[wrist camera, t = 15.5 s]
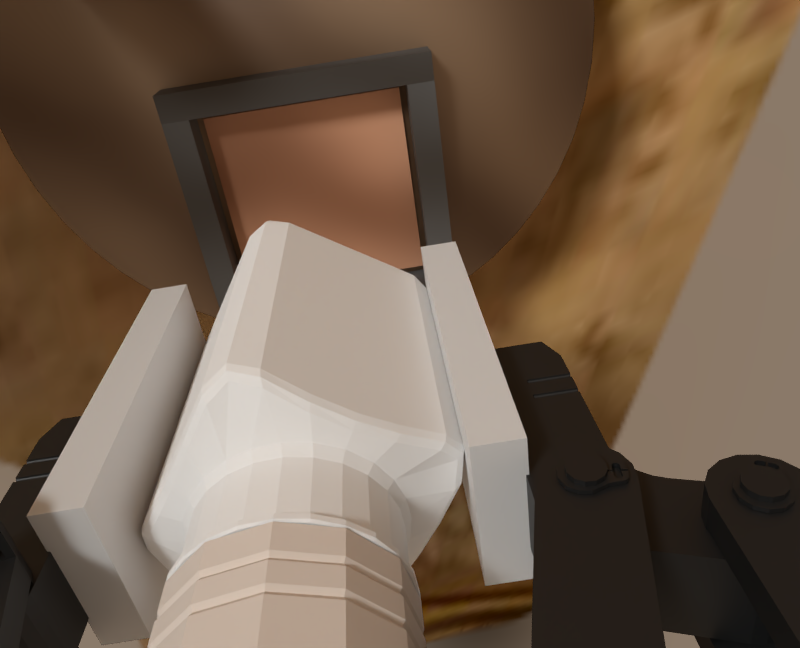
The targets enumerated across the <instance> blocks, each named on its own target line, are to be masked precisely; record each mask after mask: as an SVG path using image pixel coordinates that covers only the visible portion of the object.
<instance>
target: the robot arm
mask: <svg viewBox="0 0 800 648" xmlns="http://www.w3.org/2000/svg"><path fill="white" fill-rule="evenodd" d="M421 254H422V262H423V269H424V276H425V284H426V288H427V291H428V296H429V300H430V304H431V308H432V313H433V317H434V321H435V326H436V330H437V334H438V338H439V343H440V347H441V351H442V356H443V360H444V364H445V369H446V373H447V377H448V381H449V386H450V390H451V394H452V399H453V403H454V407H455V411H456V416H457V420H458V424H459V429H460V433H461V437H462V441H463V446H464V462H463V476H462V480H463V485H464V490H465V494H466V499H467V504H468V508H469V513H470V517H471V522H472V527H473V531H474V536H475V541H476V545H477V550H478V554H479V559H480V564H481V568H482V573H483V578H484V582H485V586H488V585H495V584H501V583H508V582H514V581H521V580H527V579H533V603H532V648H666V647H665V641H664V634H663V631H667V632H674V633H681V634H688V635H694V636H695V638H696V640H697V642H698V644H699V646H700V648H800V469H799V468H797V467H795V466H793V465H790V464H788V463H786V462H784V461H782V460H779V459H775V458H770V457H766V456H761V455H735V456H732V457H729V458H725V459H722V460H719V461H718V462H717V463H716V464H715V465H713V466H712V467H711V468H710V469H709V470H708V472H707V476H706V480H705V481H694V480H682V479H671V478H664V477H658V476H652V475H649V474H646V473H643V472H640V471H637V470H635V469H634V466H633V464H632V463H631V462H629V461H628V460H627V459H626V458H625V457H624V456H623V455H621V454H620V453H619V452H616V451H614V450H612V449H609V447H608V446H607V444H606V442H605V440H604V438H603V436H602V434H601V432H600V430H599V428H598V426H597V424H596V423H595V421H594V419H593V417H592V415H591V413H590V411H589V409H588V407H587V405H586V403H585V401H584V399H583V397H582V396H581V394H580V392H578V388H577V386H576V384H575V382H574V380H573V378H572V377H570V372H569V370H568V369H567V367H566V365H565V363H564V361H563V359H562V357H561V355H559V354H558V353H557V352H555V351H554V350H552V349H551V348H550V347H548V346H547V345H545V344H544V343H542V342H536V343H530V344H523V345H517V346H511V347H504V348H498V349H495V348H494V346H493V343H492V340H491V338H490V335H489V332H488V329H487V327H486V324H485V321H484V318H483V316H482V313H481V310H480V307H479V305H478V302H477V299H476V296H475V294H474V291H473V288H472V285H471V283H470V280H469V277H468V274H467V272H466V269H465V266H464V263H463V261H462V258H461V255H460V253H459V250H458V247H457V244H456V242H448V243H442V244H436V245H429V246H423V247H421ZM205 344H206V341H205V338H204V335H203V332H202V329H201V326H200V323H199V320H198V317H197V314H196V311H195V308H194V305H193V302H192V299H191V296H190V293H189V290H188V287H187V284H184V285H178V286H172V287H165V288H159V289H153V290H151V292H150V294H149V296H148V297H147V299H146V301H145V303H144V305H143V306H142V308H141V310H140V312H139V314H138V315H137V317H136V319H135V321H134V323H133V324H132V326H131V328H130V330H129V332H128V333H127V335H126V337H125V339H124V341H123V343H122V344H121V346H120V348H119V350H118V352H117V353H116V355H115V357H114V359H113V361H112V362H111V364H110V366H109V368H108V370H107V371H106V373H105V375H104V377H103V379H102V380H101V382H100V384H99V386H98V388H97V390H96V391H95V393H94V395H93V397H92V399H91V400H90V402H89V404H88V406H87V408H86V409H85V411H84V413H83V415H82V416H79V417H72V418H66V419H62V420H60V421H59V422H58V423H57V424H56V425H55V426H54V427H53V428H52V429H50V430H49V431H48V432H47V433H46V434H45V435H44V436H43V437H41V438H40V439H39V441H38V443H37V444H36V446H35V447H34V449H33V451H32V452H31V454H30V456H29V457H28V459H27V460H26V461H27V464H25V465H23V467H22V469H21V470H20V472H19V474H18V475H17V477H16V482H13V483H12V485H11V487H10V488H9V490H8V492H7V493H6V495H5V497H4V498H3V500H2V501H1V503H0V648H79V647H78V646H79V643H80V640H81V638H82V635H83V632H84V630H85V627H86V625H87V622H89V624H90V626H91V628H92V629H93V631H94V633H95V634H96V636H97V638H98V640H99V641H100V643H101V645H106V644H113V643H120V642H126V641H132V640H139V639H145V638H150V636H151V632H152V628H153V625H154V622H155V621H156V619H157V611H158V607H159V603H160V600H161V596H162V592H163V589H164V585H165V582H166V579H167V575H168V572H169V570H168V569H167V568H166V567H165V566H164V565H163V564H162V563H161V562H160V561H159V560H158V559H157V558H156V557H155V556H154V555H153V554H152V553H151V552H150V551H149V550H148V549H147V547H146V544H145V542H144V539H143V537H142V526H143V523H144V520H145V517H146V514H147V511H148V508H149V505H150V503H151V500H152V497H153V494H154V491H155V488H156V485H157V482H158V479H159V477H160V474H161V471H162V468H163V465H164V462H165V459H166V456H167V453H168V450H169V448H170V445H171V442H172V439H173V436H174V433H175V430H176V427H177V424H178V422H179V419H180V416H181V413H182V410H183V407H184V404H185V401H186V398H187V396H188V393H189V390H190V387H191V384H192V381H193V378H194V375H195V372H196V369H197V367H198V364H199V361H200V358H201V355H202V352H203V349H204V346H205Z"/></svg>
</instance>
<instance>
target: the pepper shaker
mask: <svg viewBox="0 0 800 648" xmlns="http://www.w3.org/2000/svg"><path fill="white" fill-rule="evenodd" d="M463 462H464V446H463V441H462V437H461V433H460V429H459V424H458V420H457V416H456V411H455V407H454V403H453V399H452V394H451V390H450V386H449V381H448V377H447V373H446V369H445V364H444V360H443V356H442V351H441V347H440V343H439V338H438V334H437V330H436V326H435V321H434V317H433V313H432V308H431V304H430V300H429V296H428V291H427V288H426V287H425V286H424V285H423V284H422V283H421V282H420V281H419V280H418V279H417V278H416V277H415V276H414V275H412V274H410V273H407V272H405V271H403V270H400V269H398V268H396V267H393V266H391V265H388V264H386V263H384V262H381V261H379V260H377V259H374V258H372V257H369V256H367V255H365V254H362V253H360V252H358V251H355V250H353V249H351V248H348V247H346V246H343V245H341V244H339V243H336V242H334V241H332V240H329V239H327V238H324V237H322V236H320V235H317V234H315V233H313V232H310V231H308V230H305V229H303V228H301V227H298V226H296V225H294V224H291V223H288V222H279V221H271V220H270V221H267V222H265V223H264V224H263V225H262V226H261V227H260V228H258V229H257V230H256V231H255V232H254V233H253V234H252V235H251V236H250V237H249V240H248V242H247V245H246V247H245V249H244V252H243V254H242V257H241V259H240V261H239V264H238V266H237V269H236V271H235V274H234V276H233V278H232V281H231V283H230V286H229V288H228V290H227V293H226V295H225V298H224V300H223V303H222V305H221V307H220V310H219V312H218V315H217V317H216V319H215V322H214V324H213V327H212V329H211V332H210V334H209V336H208V339H207V341H206V344H205V346H204V349H203V352H202V355H201V358H200V361H199V364H198V367H197V369H196V372H195V375H194V378H193V381H192V384H191V387H190V390H189V393H188V396H187V398H186V401H185V404H184V407H183V410H182V413H181V416H180V419H179V422H178V424H177V427H176V430H175V433H174V436H173V439H172V442H171V445H170V448H169V450H168V453H167V456H166V459H165V462H164V465H163V468H162V471H161V474H160V477H159V479H158V482H157V485H156V488H155V491H154V494H153V497H152V500H151V503H150V505H149V508H148V511H147V514H146V517H145V520H144V523H143V526H142V537H143V539H144V542H145V544H146V547H147V549H148V550H149V551H150V552H151V553H152V554H153V555H154V556H155V557H156V558H157V559H158V560H159V561H160V562H161V563H162V564H163V565H164V566H165V567H166V568H167V569H168V570H169V572H168V575H167V579H166V582H165V585H164V589H163V592H162V596H161V600H160V603H159V607H158V611H157V620H156V621H155V622H154V625H153V628H152V632H151V636H150V639H149V643H148V648H426V639H425V637H424V635H423V632H424V622H423V613H422V604H421V597H420V590H419V587H418V583H417V579H416V576H415V572H414V570H413V568H412V567H411V565H412V564H413V563H414V561H415V560H416V559H417V558H418V556H419V555H420V554H421V552H422V550H423V549H424V547H425V546H426V544H427V543H428V541H429V540H430V538H431V536H432V535H433V533H434V532H435V530H436V529H437V527H438V526H439V524H440V522H441V520H442V519H443V517H444V515H445V513H446V511H447V509H448V507H449V505H450V504H451V502H452V500H453V498H454V496H455V494H456V492H457V490H458V489H459V487H460V485H461V482H462V476H463Z"/></svg>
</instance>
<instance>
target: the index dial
mask: <svg viewBox="0 0 800 648" xmlns="http://www.w3.org/2000/svg"><path fill="white" fill-rule="evenodd" d="M594 20H595V18H594V0H0V128H1V130H2V132H3V134H4V136H5V138H6V140H7V142H8V144H9V146H10V148H11V150H12V152H13V154H14V156H15V157H16V159H17V160H18V162H19V163H20V165H21V166H22V168H23V169H24V171H25V172H26V174H27V175H28V177H29V178H30V180H31V181H32V183H33V184H34V186H35V187H36V189H37V190H38V192H39V193H40V194H41V195H42V196H43V198H44V199H45V200H46V201H47V202H48V204H49V205H50V206H51V207H52V208H53V210H54V211H55V212H56V213H57V214H58V216H59V217H60V218H61V219H62V221H63V222H64V223H66V224H67V225H68V226H69V227H70V228H71V229H72V230H73V231H74V232H75V233H76V234H77V235H78V236H79V237H80V238H81V239H82V240H83V241H84V242H85V243H86V244H87V245H88V246H89V247H90V248H91V249H93V250H94V251H95V252H96V253H98V254H99V255H100V256H102V257H103V258H104V259H105V260H107V261H108V262H109V263H111V264H112V265H113V266H114V267H116V268H117V269H118V270H119V271H121V272H122V273H124V274H126V275H127V276H129V277H130V278H132V279H134V280H135V281H137V282H139V283H140V284H142V285H143V286H145V287H147V288H148V289H150V290H153V289H159V288H165V287H172V286H178V285H184V284H187V287H188V290H189V293H190V296H191V299H192V302H193V305H194V308H195V310H196V311H199V312H202V313H204V314H207V315H210V316H213V317H217V315H218V312H219V310H220V307H221V305H222V303H223V300H224V298H225V295H226V293H227V290H228V288H229V286H230V283H231V281H232V278H233V276H234V274H235V271H236V269H237V266H238V264H239V261H240V259H241V257H242V254H243V252H244V249H245V247H246V245H247V242H248V240H249V237H250V236H251V235H252V234H253V233H254V232H255V231H256V230H257V229H258V228H260V227H261V226H262V225H263V224H264V223H265V222H267V221H270V220H271V221H279V222H288V223H291V224H294V225H296V226H298V227H301V228H303V229H305V230H308V231H310V232H313V233H315V234H317V235H320V236H322V237H324V238H327V239H329V240H332V241H334V242H336V243H339V244H341V245H343V246H346V247H348V248H351V249H353V250H355V251H358V252H360V253H362V254H365V255H367V256H369V257H372V258H374V259H377V260H379V261H381V262H384V263H386V264H388V265H391V266H393V267H396V268H398V269H400V270H403V271H405V272H407V273H410V274H412V275H414V276H415V277H416V278H417V279H418V280H419V281H420V282H421V283H422V284H423V285H424V286H425V287H426V284H425V276H424V269H423V262H422V254H421V247H423V246H429V245H436V244H442V243H448V242H456V244H457V247H458V250H459V253H460V255H461V258H462V261H463V263H464V266H465V269H466V272H467V274H468V277H469V276H470V275H471V274H473V273H474V272H475V271H476V270H477V269H479V268H480V267H481V266H482V265H484V264H485V263H486V262H487V261H489V260H490V259H491V258H492V257H494V255H495V254H496V253H497V252H498V251H499V250H500V249H501V248H502V247H503V246H504V245H505V244H506V243H507V242H508V241H509V240H510V239H511V238H512V237H513V236H514V235H515V234H516V233H517V232H518V231H519V229H520V228H521V227H522V225H523V224H524V223H525V221H526V220H527V219H528V218H529V216H530V215H531V214H532V212H533V211H534V210H535V208H536V207H537V206H538V205H539V203H540V201H541V200H542V198H543V196H544V195H545V193H546V191H547V190H548V188H549V186H550V185H551V183H552V181H553V180H554V178H555V176H556V174H557V173H558V171H559V168H560V166H561V164H562V162H563V159H564V157H565V155H566V153H567V150H568V148H569V146H570V144H571V141H572V139H573V136H574V133H575V130H576V127H577V123H578V120H579V117H580V114H581V111H582V107H583V104H584V101H585V95H586V90H587V84H588V79H589V74H590V68H591V63H592V51H593V35H594Z"/></svg>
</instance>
